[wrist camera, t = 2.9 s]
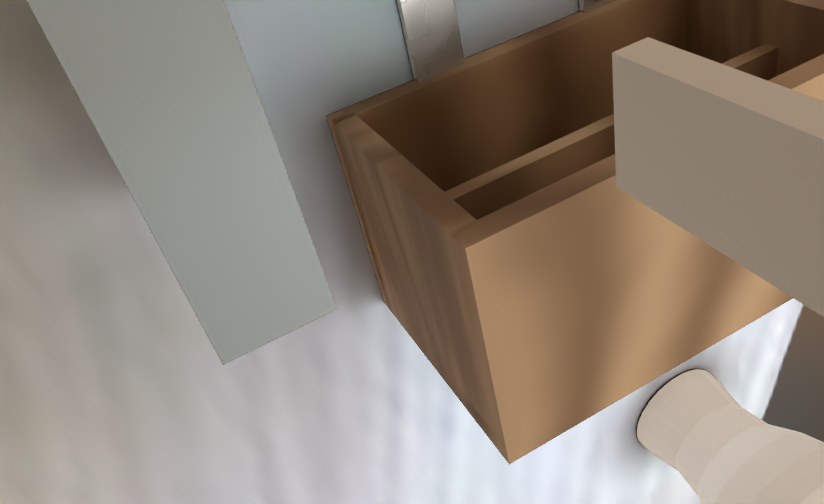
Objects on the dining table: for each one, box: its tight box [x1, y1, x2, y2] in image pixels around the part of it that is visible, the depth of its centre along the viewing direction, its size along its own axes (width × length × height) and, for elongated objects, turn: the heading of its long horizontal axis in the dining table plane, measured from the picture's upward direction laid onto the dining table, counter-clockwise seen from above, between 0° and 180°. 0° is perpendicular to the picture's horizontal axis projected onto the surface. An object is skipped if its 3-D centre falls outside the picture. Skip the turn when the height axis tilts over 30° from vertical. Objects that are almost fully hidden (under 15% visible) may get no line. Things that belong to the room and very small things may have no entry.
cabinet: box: [327, 0, 824, 464], centre depth 32 cm, size 20×11×12 cm, turn 103°
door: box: [27, 0, 337, 365], centre depth 20 cm, size 13×4×12 cm, turn 13°
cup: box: [637, 369, 824, 504], centre depth 50 cm, size 11×11×15 cm
